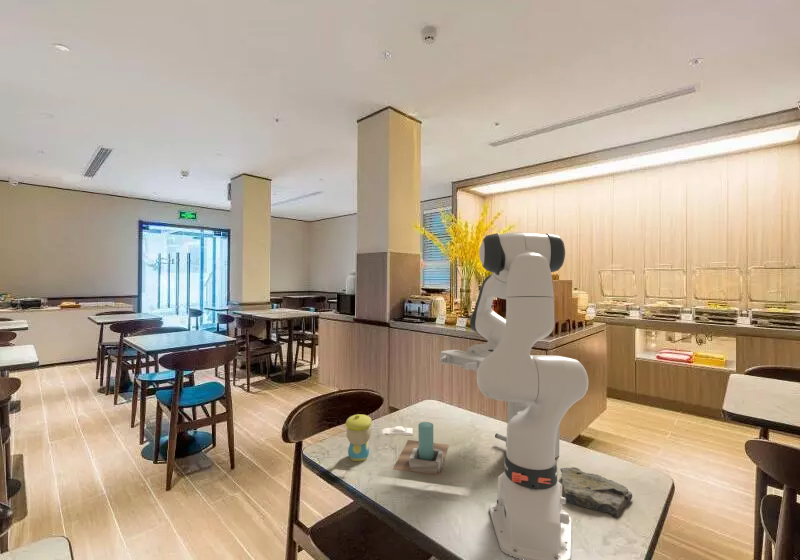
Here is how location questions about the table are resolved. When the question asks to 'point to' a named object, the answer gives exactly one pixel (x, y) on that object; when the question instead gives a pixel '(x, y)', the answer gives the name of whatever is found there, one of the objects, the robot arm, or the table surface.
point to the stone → (594, 491)
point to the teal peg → (426, 441)
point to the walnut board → (414, 464)
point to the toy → (358, 436)
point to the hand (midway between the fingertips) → (452, 364)
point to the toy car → (398, 431)
